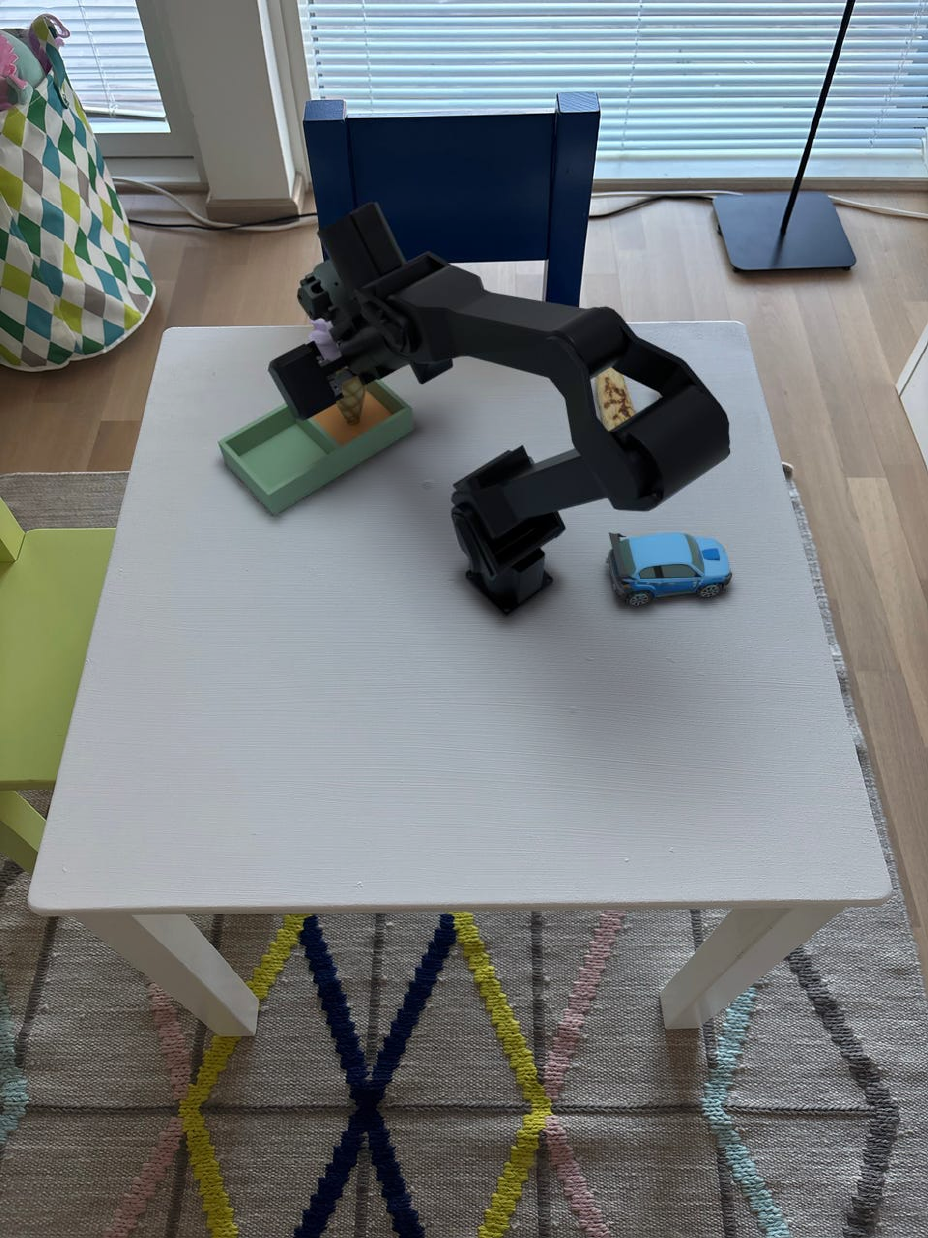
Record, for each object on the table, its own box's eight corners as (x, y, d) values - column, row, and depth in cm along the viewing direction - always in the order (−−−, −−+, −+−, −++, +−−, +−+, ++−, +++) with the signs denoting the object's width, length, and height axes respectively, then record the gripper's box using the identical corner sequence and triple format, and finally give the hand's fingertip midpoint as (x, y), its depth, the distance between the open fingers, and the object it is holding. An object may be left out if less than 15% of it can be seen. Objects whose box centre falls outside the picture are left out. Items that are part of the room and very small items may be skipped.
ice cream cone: (394, 411, 103) (382, 300, 90) (370, 449, 100) (354, 339, 87) (341, 396, 104) (322, 284, 92) (316, 433, 101) (293, 322, 89)
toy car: (731, 597, 90) (746, 564, 85) (611, 609, 90) (619, 577, 85) (716, 549, 93) (729, 515, 88) (600, 561, 93) (607, 527, 88)
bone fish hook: (693, 490, 98) (656, 369, 107) (705, 462, 94) (664, 338, 103) (608, 497, 97) (577, 375, 106) (616, 468, 93) (583, 343, 102)
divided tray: (414, 429, 102) (412, 407, 99) (274, 516, 96) (267, 495, 93) (362, 382, 106) (359, 360, 103) (224, 462, 100) (217, 441, 97)
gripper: (433, 208, 83) (375, 253, 97) (256, 294, 77) (222, 329, 91) (487, 324, 86) (423, 351, 100) (321, 414, 80) (278, 430, 94)
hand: (339, 363), depth 96 cm, fingers closed on ice cream cone, 6 cm apart
